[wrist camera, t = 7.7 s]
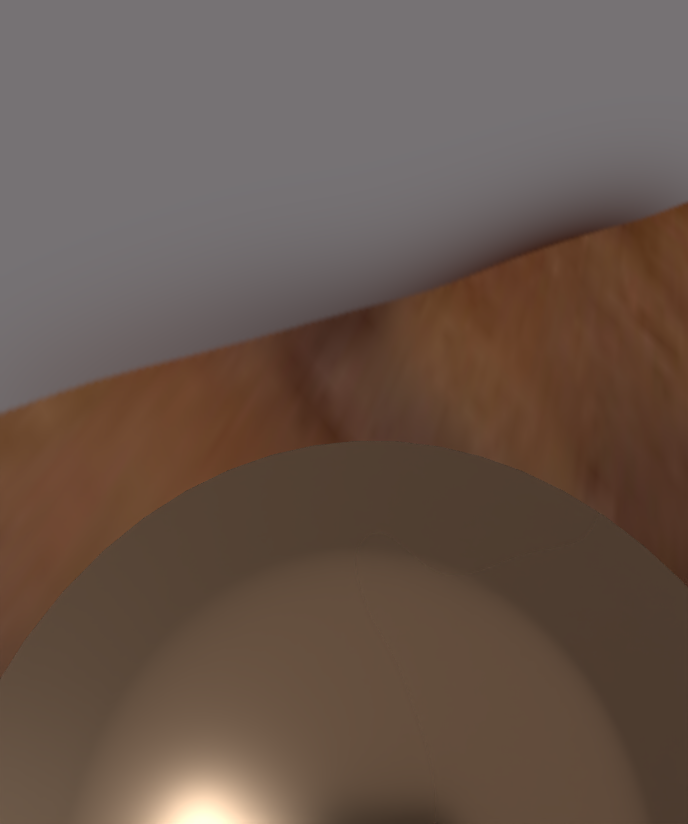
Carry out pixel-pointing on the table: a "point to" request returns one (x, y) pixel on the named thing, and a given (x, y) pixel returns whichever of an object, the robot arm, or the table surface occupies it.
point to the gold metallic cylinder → (357, 657)
